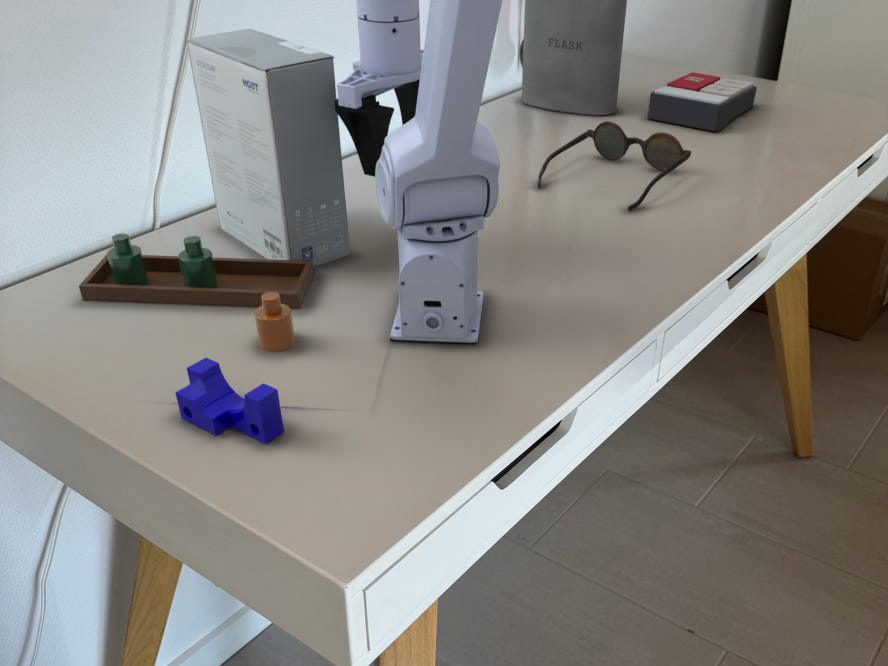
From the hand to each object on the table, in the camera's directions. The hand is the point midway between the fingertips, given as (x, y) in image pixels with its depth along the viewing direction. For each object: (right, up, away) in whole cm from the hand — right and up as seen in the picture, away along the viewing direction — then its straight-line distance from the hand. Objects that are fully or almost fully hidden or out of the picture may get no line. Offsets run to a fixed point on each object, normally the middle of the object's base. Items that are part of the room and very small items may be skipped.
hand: (396, 163), depth 92 cm
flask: (+22, +24, +46) cm, 56 cm away
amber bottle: (-10, -20, -10) cm, 24 cm away
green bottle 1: (-26, -13, -2) cm, 29 cm away
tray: (-19, -13, -2) cm, 23 cm away
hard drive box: (-13, -6, +7) cm, 16 cm away
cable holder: (-11, -28, -20) cm, 36 cm away
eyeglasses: (+25, +5, +22) cm, 34 cm away
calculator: (+42, +23, +44) cm, 65 cm away
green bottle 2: (-19, -13, -2) cm, 23 cm away
